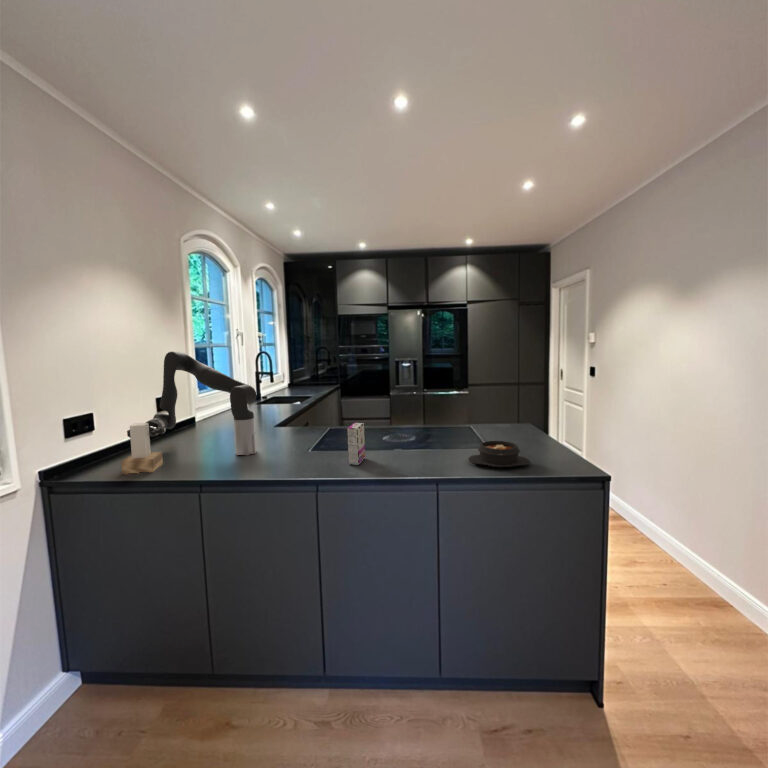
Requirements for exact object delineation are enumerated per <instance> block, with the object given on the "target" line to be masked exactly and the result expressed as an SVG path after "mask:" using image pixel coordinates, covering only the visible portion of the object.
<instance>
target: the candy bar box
mask: <svg viewBox="0 0 768 768" xmlns="http://www.w3.org/2000/svg"><path fill="white" fill-rule="evenodd" d="M346 432H347V449H348V450H347V451H348V455H347V456H348V464H349V463H360V462H361V461H362V459H363V458H364V457H365V458H366V444H365V443H366V442H365V440H366V439H365V423H364V422H363V423H362V422H354V423H352V424H351V425H350V426H349V427H347V428H346Z"/></svg>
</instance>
